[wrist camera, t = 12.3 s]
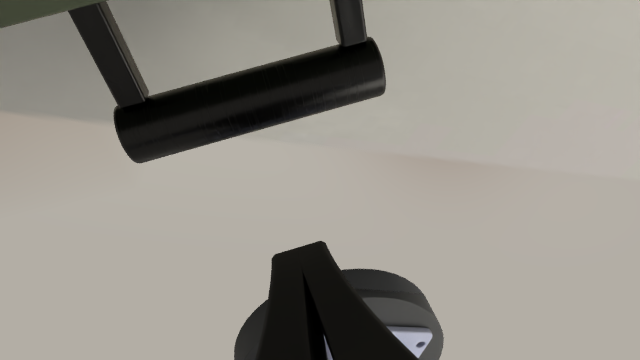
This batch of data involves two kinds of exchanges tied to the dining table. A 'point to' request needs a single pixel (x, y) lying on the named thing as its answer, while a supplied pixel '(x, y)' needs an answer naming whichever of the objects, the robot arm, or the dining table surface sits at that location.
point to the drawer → (218, 81)
